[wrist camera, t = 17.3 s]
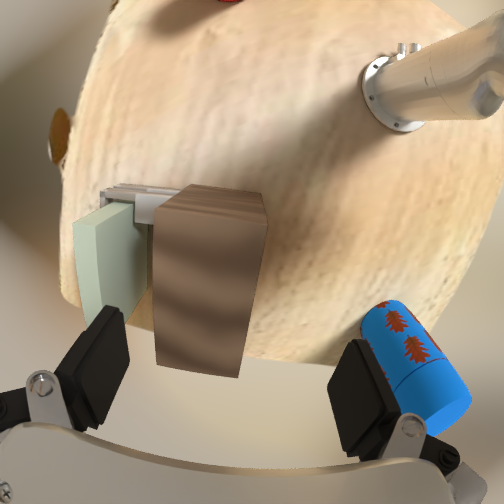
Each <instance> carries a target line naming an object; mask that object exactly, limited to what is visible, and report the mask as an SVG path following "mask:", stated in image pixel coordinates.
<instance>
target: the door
mask: <svg viewBox="0 0 504 504" xmlns="http://www.w3.org/2000/svg"><path fill="white" fill-rule="evenodd" d="M72 224H73V240H74V252H75V262H76V270H77V278H78V284H79V291H80V297H81V302H82V308H83V313H84V318H85V323H86V327H87V328H88V327H89V325H90V324H91V323H92V321H93V320H94V319H95V317H96V316H97V315H98V313H99V312H100V311H101V310H102V308H103V307H104V306H105V305H110V306H114V307H118V308H119V309H120V312H123V315H124V323H126V322H127V320H128V318H129V317H130V315H131V314H132V312H133V310H134V309H135V307H136V306H137V304H138V302H139V301H140V299H141V298H142V296H143V295H144V293H145V291H146V290H147V232H148V224H145V223H137V222H135V201H133V200H124V199H119V200H117V201H115V202H113V203H110V204H108V205H106V206H104V207H102V208H100V209H98V210H96V211H94V212H92V213H90V214H88V215H87V216H85V217H83V218H81V219H79V220H77V221H75V222H73V223H72Z"/></svg>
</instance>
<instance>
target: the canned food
mask: <svg viewBox="0 0 504 504" xmlns="http://www.w3.org/2000/svg"><path fill="white" fill-rule="evenodd" d="M219 1H223V2H236V1H240V0H219Z"/></svg>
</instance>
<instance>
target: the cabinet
mask: <svg viewBox="0 0 504 504" xmlns="http://www.w3.org/2000/svg"><path fill="white" fill-rule="evenodd" d="M119 199H124V200H133V201H135V222H137V223H145V224H152V225H154V228H153V318H154V336H155V351H156V362H157V365H160V366H165V367H170V368H175V369H180V370H186V371H192V372H197V373H203V374H209V375H216V376H224V377H232V378H238V375H239V370H240V365H241V361H242V356H243V351H244V346H245V341H246V336H247V331H248V326H249V321H250V316H251V311H252V306H253V301H254V296H255V291H256V286H257V281H258V275H259V270H260V265H261V260H262V255H263V249H264V244H265V239H266V234H267V228H268V223H267V218H266V214H265V210H264V205H263V201H262V197H261V194H258V193H252V192H246V191H239V190H232V189H225V188H218V187H211V186H203V185H195V184H191V185H189V186H188V187H186V188H185V189H183V190H180V189H171V188H162V187H153V186H143V185H132V184H118V185H115V186H114V188H107V189H104V190H102V191H100V208H102V207H104V206H106V205H108V204H110V203H113V202H115V201H117V200H119Z"/></svg>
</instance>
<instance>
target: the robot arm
mask: <svg viewBox="0 0 504 504" xmlns="http://www.w3.org/2000/svg"><path fill="white" fill-rule="evenodd" d="M409 53H410V54H409V55H407V56H406V45H405V44H402V43H398V54H397V55H396V56H394V57H391V56H386V57H381V58H378V59H376V60H374V61H372V62H371V63H370V64H369V65H368V66H367V68H366V69H365V72H364V74H363V79H362V91H363V95H364V98H365V101H366V103H367V106H368V107H369V109H370V111H371V112H372V113H373V115H374V116H375V117H376V118H377V119H378V120H379V121H380V122H381V123H382V124H384V125H385V126H387V127H388V128H390V129H393V130H395V131H400V132H410V131H414V130H417V129H419V128H420V127H422V126H423V125H424V124H425V122H426V121H434V120H481V119H486V118H488V117H490V116H492V115H493V114H494V113H495V112H496V111H497V110H498V109H499V107H500V106H501V104H502V102H503V100H504V9H502V10H500V11H497V12H495V13H494V14H492V15H491V16H489V17H488V18H486V19H484V20H483V21H481V22H479V23H478V24H476V25H474V26H473V27H471V28H469V29H467V30H465V31H463V32H460V33H458V34H456V35H453V36H451V37H449V38H446V39H444V40H441V41H439V42H437V43H434V44H432V45H430V46H427V47H425V48H423V49H421V46H420V45H418V44H415V43H411V44H410V50H409ZM373 67H374V68H373ZM369 97H370V98H371V100H370V99H369ZM394 124H395V126H394ZM129 362H130V357H129V351H128V345H127V338H126V331H125V323H124V315H123V312H120V309H119V308H118V307H114V306H110V305H105V306H104V307H103V308H102V310H101V311H100V312H99V313H98V315H97V316H96V317H95V319H94V320H93V321H92V323H91V324H90V325H89V327H88V328H87V330H86V331H83V332H82V333H81V334H80V336H79V337H78V339H77V340H76V341H75V343H74V344H73V346H72V347H71V348H70V350H69V351H68V353H67V354H66V355H65V357H64V358H63V360H62V361H61V363H60V364H59V366H58V367H57V369H56V370H55V372H54V373H52V372H50V371H46V370H40V371H37V372H34V373H33V374H31V375H30V376H29V378H28V379H27V382H26V387H24V388H20V389H16V390H11V391H7V392H3V393H0V504H481V502H482V500H483V498H484V497H485V495H486V492H487V484H486V482H485V480H484V479H483V478H482V477H480V476H479V475H478V474H477V473H476V472H475V471H473V470H472V469H471V468H470V467H469V466H468V465H467V464H465V463H464V462H462V463H460V455H459V453H458V451H457V450H456V449H455V448H454V447H453V446H451V445H449V444H447V443H445V442H443V441H441V440H438V439H437V438H435V437H433V436H431V435H429V434H427V426H426V423H425V422H424V420H423V419H422V418H421V417H420V416H418V415H416V414H413V413H406V414H403V415H402V414H401V409H400V406H399V404H398V402H397V400H396V398H395V396H394V394H393V391H392V389H391V387H390V385H389V383H388V381H387V379H386V377H385V375H384V373H383V371H382V369H381V367H380V365H379V363H378V361H377V359H376V357H375V355H374V353H373V351H372V349H371V347H370V345H369V343H368V341H367V340H365V339H353V340H352V341H351V342H349V343H348V344H347V346H346V348H345V350H344V353H343V355H342V357H341V359H340V361H339V363H338V365H337V367H336V369H335V371H334V373H333V375H332V377H331V379H330V381H329V383H328V386H327V391H328V395H329V399H330V402H331V406H332V410H333V413H334V418H335V421H336V425H337V429H338V433H339V437H340V441H341V445H342V449H343V451H344V452H346V453H347V457H355V456H359V459H360V461H359V463H353V464H345V465H336V466H327V467H316V468H299V469H253V468H235V467H225V466H216V465H207V464H200V463H194V462H187V461H182V460H176V459H171V458H167V457H162V456H158V455H153V454H149V453H145V452H141V451H137V450H134V449H131V448H128V447H124V446H120V445H117V444H114V443H111V442H108V441H105V440H102V439H99V438H96V437H94V436H91V435H88V434H86V433H85V431H86V430H87V428H88V427H91V428H93V429H96V430H97V429H98V426H99V424H100V425H102V424H103V423H104V421H105V419H106V416H107V414H108V411H109V409H110V406H111V404H112V402H113V400H114V397H115V395H116V393H117V390H118V388H119V386H120V384H121V381H122V379H123V377H124V375H125V372H126V370H127V368H128V366H129Z"/></svg>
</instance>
